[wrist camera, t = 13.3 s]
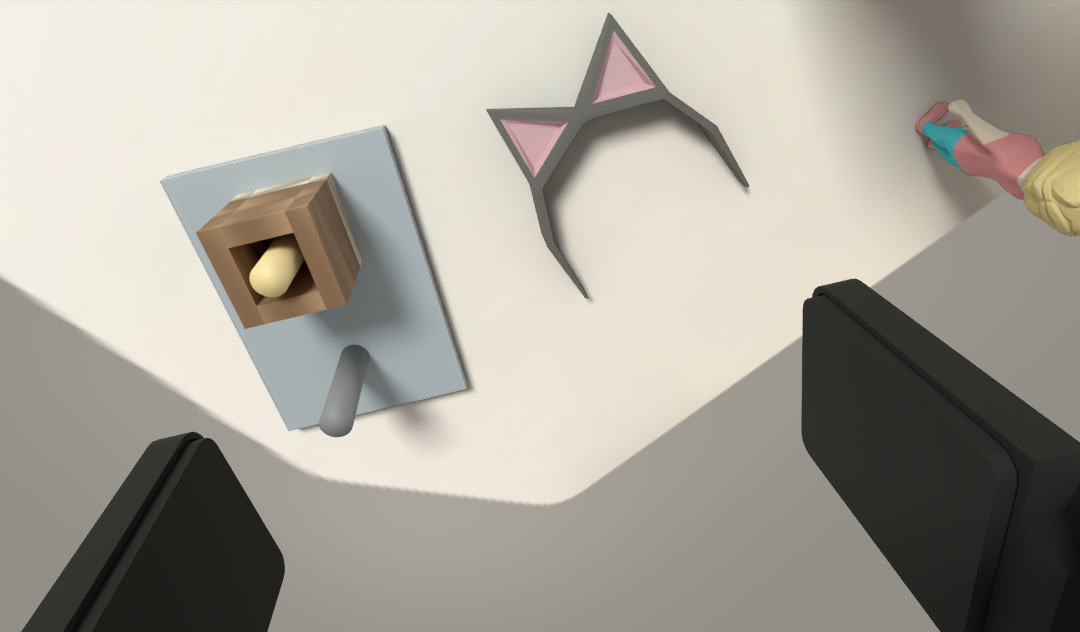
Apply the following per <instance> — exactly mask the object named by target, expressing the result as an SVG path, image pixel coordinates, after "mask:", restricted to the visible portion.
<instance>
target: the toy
mask: <svg viewBox="0 0 1080 632" xmlns="http://www.w3.org/2000/svg"><path fill="white" fill-rule="evenodd" d="M948 110H949V111H951V112H952V113H954V114H956V115H958V116H961V117H962V118H963V119H964V121H965V122H966V124H967V125H968V126H965V127H960V126H961V122H960V121H959V120H955V121H952V122H950V123H948V124H946V125H945V126H939V125H934V124H935V122H936V121H938V120H939V119H940V118H941V117H943V116H944V115H945V114H946V112H947V111H948ZM916 130H917V131H918V132H920V133H922V134H923V135H925V136H927V137H929V138H930V140H929V142H928V147H929V148H930V149H932V150H934V149H936V150H937V151H938V152H939V153H940V154H941V155H942V156H943V157H944V158H945V159H946V160H947V161H948V162H949V163H950V164H953V165H956V166H958V168H959V169H960V170H961V171H962V172H964V173H966V174H968V175H971V176H983V177H988V178H991V179H993V180H996V181H997V182H998V183H999V184H1000V185H1001V186H1002V187H1003V188H1004V189H1005V190H1006V191H1007V192H1009V193H1010V194H1012V195H1013V196H1014V197H1016V198H1018V199H1022V200H1023V199H1024V203H1025V204H1026V206H1027V208H1028V210H1029V211H1030V212H1031V213H1032V214H1034V215H1035V216H1037V217H1039V218H1041V219H1043V220H1044V221H1045V222H1046V223H1047V224H1048V225H1049V226H1050V227H1052V228H1054V229H1057V231H1058V232H1059V233H1062V234H1064V235H1069V236H1076V235H1078V236H1080V141H1076V142H1072V143H1067V144H1062V145H1059V146H1057V147H1055V148H1053V149H1052V150H1051V151H1049V152H1048V153H1047V154H1046V155H1045V154H1044V152H1043V150H1042V148H1041V147H1040V145H1039V144H1038V142H1037V141H1036V140H1035V139H1034V138H1032V137H1030V136H1026V135H1020V134H1014V133H1008V132H1005V131H1002V130H1000V129H997V128H996V127H994V126H992V125H991V124H989V123H988V122H986V121H984V120H983V119H981V118H980V117H978V116H977V115H976V114H974V113H973V112H972V110H971V108H970V106H969V104H968V103H967V102H966V101H965V100H956V101H954V102H952V103H951V104H950V105H949V103H947V102H941V103H937V104H936V105H935V106H934V107H933V108H932V109H931V110H930V112H929V113H927V114H926V115H925V116H924V117H923V118H922V119H921V120H920V121H919V123H918V124H917V125H916Z"/></svg>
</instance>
